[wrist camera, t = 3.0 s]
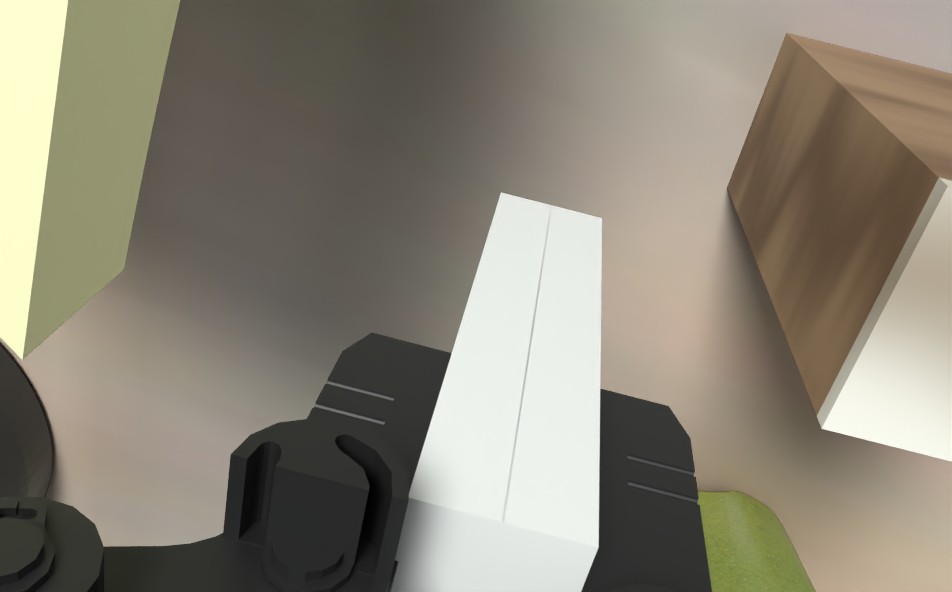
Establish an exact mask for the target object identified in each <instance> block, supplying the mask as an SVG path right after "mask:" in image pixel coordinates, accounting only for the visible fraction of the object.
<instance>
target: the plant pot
mask: <svg viewBox="0 0 952 592" xmlns="http://www.w3.org/2000/svg"><path fill="white" fill-rule="evenodd" d="M698 497H699V498H698V502H697V504H698V505H700V511H701V517H702V524H703V531H704V538H705V545H706V552H707V559H708V566H709V573H710V580H711V587H712V592H816V591H815V589H814V587H813V585H812V583H811V581H810V579H809V577H808V575H807V573H806V571H805V569H804V567H803V565H802V563H801V561H800V559H799V557H798V554H797V552H796V550H795V548H794V546H793V544H792V543H791V541H790V539H789V537H788V535H787V533H786V531H785V529H784V527H783V526H782V524H781V522H780V521H779V519H778V518H777V516H776V515H775V514H774V513H773V512H772V511H771V510H770V509H769V508H768V507H767V506H765V505H764V504H763V503H761V502H759V501H758V500H756V499H754V498H752V497H750V496H748V495H745V494H743V493H740V492H736V491H727V492H703V491H698Z"/></svg>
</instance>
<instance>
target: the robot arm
mask: <svg viewBox="0 0 952 592" xmlns="http://www.w3.org/2000/svg"><path fill="white" fill-rule="evenodd" d="M601 265H602V218H599V217H595V216H591V215H587V214H583V213H580V212H576V211H572V210H568V209H564V208H560V207H556V206H552V205H548V204H544V203H540V202H536V201H532V200H529V199H525V198H521V197H517V196H513V195H509V194H505V193H501V194H500V198H499V201H498V204H497V207H496V211H495V214H494V217H493V220H492V224H491V227H490V230H489V233H488V237H487V240H486V243H485V247H484V250H483V253H482V256H481V260H480V263H479V266H478V269H477V273H476V276H475V279H474V282H473V286H472V289H471V292H470V296H469V299H468V302H467V305H466V309H465V312H464V315H463V318H462V322H461V325H460V328H459V331H458V335H457V338H456V341H455V345H454V348H453V351H452V353H448V352H444V351H440V350H437V349H433V348H429V347H425V346H421V345H417V344H413V343H409V342H406V341H402V340H398V339H394V338H390V337H386V336H382V335H379V334H375V333H371V334H369V335H368V336H366V337H364V338H363V339H361V340H360V341H358V342H357V343H355V344H353V345H352V346H350V347H349V348H347V349H346V350H344V351H342V353H341V355H340V357H339V359H338V361H337V363H336V365H335V366H334V368H333V370H332V372H331V374H330V376H329V378H328V381H327V384H325V385H324V387H323V389H322V391H321V393H320V395H319V397H318V399H317V401H316V404H315V407H314V408H312V410H311V412H310V414H309V416H308V418H307V419H305V420H297V421H288V422H280V423H277V424H274V425H272V426H270V427H268V428H265V429H263V430H261V431H258V432H256V433H254V434H251V435H250V436H249V437H248V438H247V439H246V440H245V441H244V442H243V443H242V444H241V445H240V446H239V447H238V448H237V449H236V450H235V451H234V452H233V453H232V454H231V458H230V469H229V479H228V490H227V500H226V511H225V521H224V532H223V533H222V534H220V535H218V536H216V537H213V538H209V539H206V540H202V541H198V542H195V543H191V544H182V545H171V546H131V547H103V544H102V541H101V539H100V536H99V534H98V531H97V528H96V526H95V524H94V523H93V522H91V521H90V520H89V519H88V518H87V517H85V516H84V515H83V514H82V513H80V512H79V511H78V510H77V509H75V508H74V507H73V506H69V505H66V504H63V503H59V502H56V501H53V500H49V499H46V498H44V496H45V494H46V492H47V489H48V486H49V483H50V478H51V472H52V445H51V439H50V434H49V430H48V426H47V423H46V420H45V417H44V414H43V411H42V409H41V406H40V404H39V402H38V400H37V398H36V396H35V394H34V392H33V390H32V388H31V386H30V385H29V383H28V381H27V380H26V378H25V376H24V375H23V374H22V372H21V371H20V369H19V368H18V366H17V365H16V364H15V362H14V361H13V360H12V358H11V357H10V356H9V355H8V353H7V352H6V351H5V350H4V349H3V348H2V346H1V345H0V592H712V587H711V580H710V573H709V566H708V559H707V552H706V545H705V538H704V531H703V524H702V517H701V511H700V505H698V504H697V502H698V498H699V497H698V490H697V483H696V477H694V472H695V469H694V462H693V455H692V448H691V441H690V437H689V436H688V434H687V433H686V431H685V430H684V428H683V427H682V425H681V424H680V423H679V421H678V420H677V418H676V417H675V415H674V414H673V412H672V411H671V409H670V408H669V406H665V405H661V404H658V403H654V402H650V401H646V400H642V399H638V398H634V397H631V396H627V395H623V394H619V393H615V392H611V391H607V390H603V389H600V362H601Z"/></svg>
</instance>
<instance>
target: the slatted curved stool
mask: <svg viewBox="0 0 952 592" xmlns="http://www.w3.org/2000/svg"><path fill="white" fill-rule="evenodd" d="M179 5H180V0H0V337H1V338H2V339H3V340H4V341H5V342H6V343H7V344H8V345H9V346H10V347H11V349H12V350H13V351H14V352H15V353H16V354H17V355H18V356H19V357H20V358H21V359H22V360H23V359H24V358H25V357H26V356H27V355H28V354H30V353H31V352H32V351H33V350H34V349H35V348H36V347H37V346H39V345H40V344H41V343H42V342H43V341H44V340H45V339H46V338H48V337H49V336H50V335H51V334H52V333H53V332H54V331H55V330H57V329H58V328H59V327H60V326H61V325H62V324H63V323H64V322H66V321H67V320H68V319H69V318H70V317H71V316H72V315H73V314H75V313H76V312H77V311H78V310H79V309H80V308H81V307H82V306H84V305H85V304H86V303H87V302H88V301H89V300H90V299H91V298H93V297H94V296H95V295H96V294H97V293H98V292H99V291H100V290H102V289H103V288H104V287H105V286H106V285H107V284H108V283H109V282H111V281H112V280H113V279H114V278H115V277H116V276H117V275H118V274H120V273H121V272H122V271H123V270H124V267H125V262H126V257H127V252H128V246H129V241H130V236H131V231H132V226H133V221H134V216H135V211H136V206H137V201H138V196H139V191H140V186H141V181H142V176H143V171H144V167H145V162H146V157H147V152H148V147H149V142H150V138H151V133H152V128H153V123H154V119H155V114H156V109H157V105H158V100H159V95H160V90H161V86H162V81H163V76H164V72H165V67H166V63H167V58H168V54H169V49H170V45H171V40H172V36H173V31H174V27H175V22H176V18H177V13H178V9H179Z"/></svg>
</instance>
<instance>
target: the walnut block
mask: <svg viewBox="0 0 952 592" xmlns="http://www.w3.org/2000/svg"><path fill="white" fill-rule="evenodd" d="M727 189H728V192H729V194H730V197H731V199H732V202H733V204H734V207H735V209H736V212H737V215H738V217H739V220H740V222H741V225H742V227H743V230H744V232H745V235H746V237H747V240H748V243H749V245H750V248H751V250H752V253H753V255H754V258H755V260H756V263H757V265H758V268H759V271H760V273H761V276H762V278H763V281H764V283H765V286H766V288H767V291H768V294H769V296H770V299H771V301H772V304H773V306H774V309H775V311H776V314H777V316H778V319H779V322H780V324H781V327H782V329H783V332H784V334H785V337H786V339H787V342H788V345H789V347H790V350H791V352H792V355H793V357H794V360H795V362H796V365H797V367H798V370H799V373H800V375H801V378H802V380H803V383H804V385H805V388H806V390H807V393H808V395H809V398H810V401H811V403H812V406H813V408H814V411H815V413H816V416H817V418H818V421H819V424H820V426H821V429H825V430H829V431H833V432H837V433H841V434H844V435H848V436H852V437H856V438H860V439H864V440H868V441H872V442H876V443H880V444H884V445H888V446H892V447H896V448H900V449H904V450H908V451H912V452H916V453H920V454H924V455H928V456H932V457H936V458H940V459H944V460H948V461H952V74H950V73H945V72H941V71H937V70H933V69H929V68H925V67H921V66H917V65H913V64H909V63H905V62H901V61H897V60H893V59H889V58H885V57H881V56H877V55H873V54H869V53H865V52H861V51H857V50H853V49H849V48H845V47H841V46H837V45H833V44H829V43H825V42H821V41H817V40H813V39H809V38H805V37H801V36H796V35H792V34H788V33H787V34H786V36H785V39H784V41H783V44H782V47H781V49H780V52H779V54H778V57H777V60H776V62H775V65H774V67H773V70H772V73H771V75H770V78H769V80H768V83H767V86H766V88H765V91H764V93H763V96H762V99H761V101H760V104H759V106H758V109H757V112H756V114H755V117H754V119H753V122H752V125H751V127H750V130H749V132H748V135H747V138H746V140H745V143H744V145H743V148H742V151H741V153H740V156H739V158H738V161H737V164H736V166H735V169H734V171H733V174H732V177H731V179H730V182H729V184H728V187H727Z"/></svg>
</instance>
